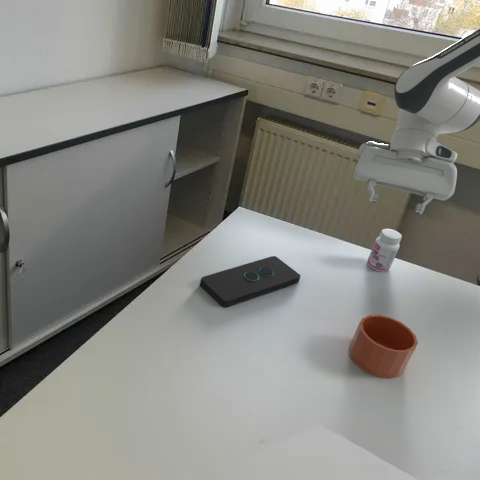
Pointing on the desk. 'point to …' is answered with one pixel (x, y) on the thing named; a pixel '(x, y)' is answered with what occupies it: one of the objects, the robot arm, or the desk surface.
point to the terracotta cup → (382, 346)
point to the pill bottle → (384, 250)
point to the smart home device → (249, 281)
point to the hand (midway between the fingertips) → (395, 207)
